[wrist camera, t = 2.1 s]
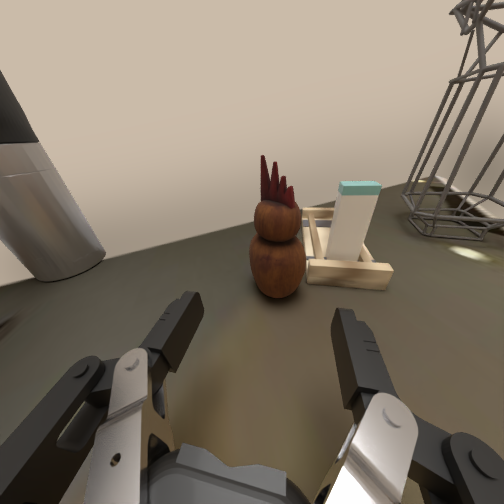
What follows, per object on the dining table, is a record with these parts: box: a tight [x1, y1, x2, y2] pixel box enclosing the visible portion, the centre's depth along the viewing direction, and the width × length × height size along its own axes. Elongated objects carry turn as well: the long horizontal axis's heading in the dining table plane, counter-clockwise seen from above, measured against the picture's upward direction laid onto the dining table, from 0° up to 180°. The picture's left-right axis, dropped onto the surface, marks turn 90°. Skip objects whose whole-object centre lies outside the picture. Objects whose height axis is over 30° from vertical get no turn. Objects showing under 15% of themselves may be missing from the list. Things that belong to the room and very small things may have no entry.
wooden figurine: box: [249, 155, 306, 298], centre depth 19 cm, size 7×6×15 cm
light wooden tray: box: [302, 208, 394, 290], centre depth 30 cm, size 9×20×3 cm, turn 169°
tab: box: [326, 181, 382, 262], centre depth 22 cm, size 4×2×10 cm, turn 79°
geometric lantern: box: [401, 0, 504, 241], centre depth 24 cm, size 16×16×35 cm
